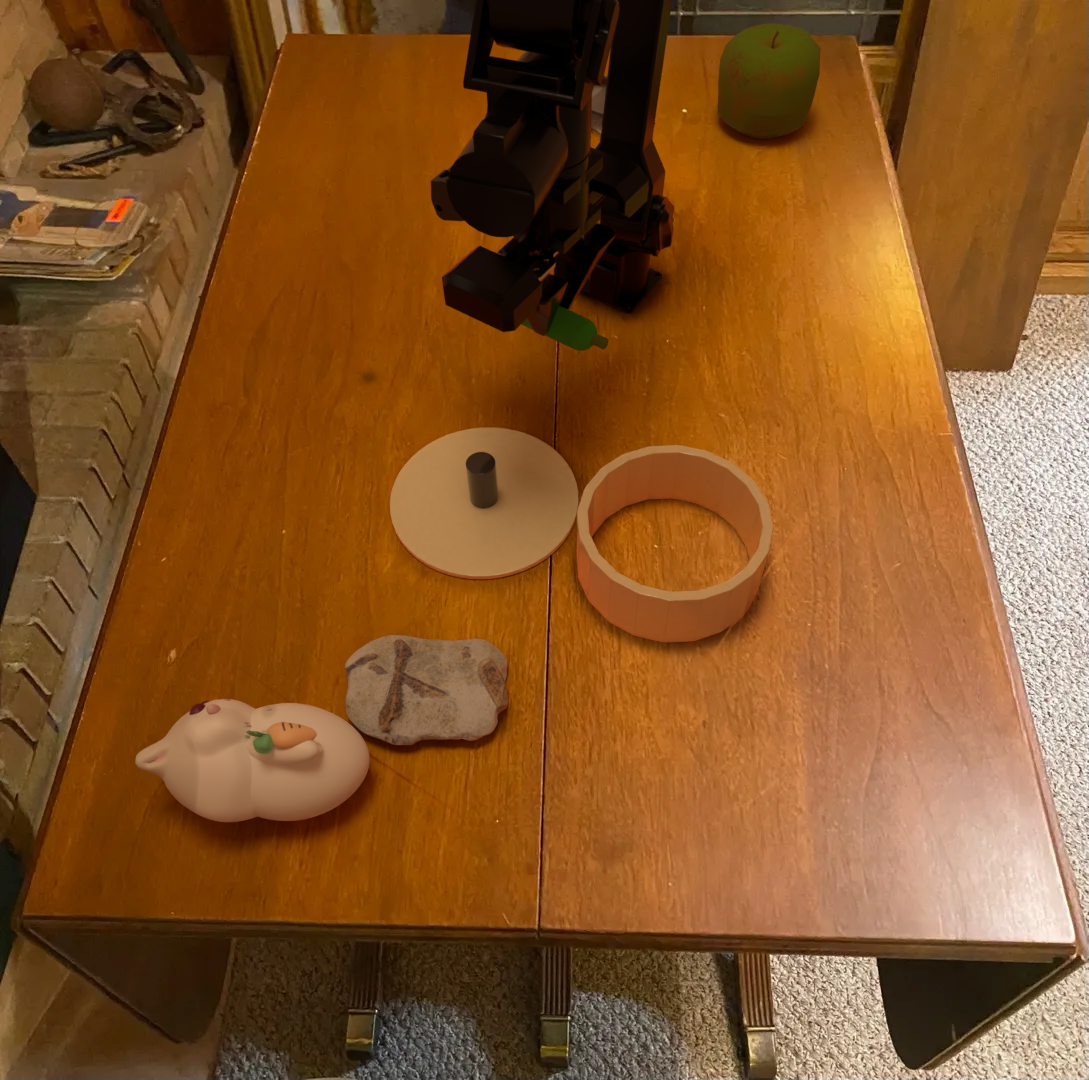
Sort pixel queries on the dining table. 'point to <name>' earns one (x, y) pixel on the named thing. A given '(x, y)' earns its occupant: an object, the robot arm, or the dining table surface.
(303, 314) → the dining table surface
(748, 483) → the pot
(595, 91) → the paper boat
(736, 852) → the dining table surface
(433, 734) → the stone
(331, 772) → the bunny figurine
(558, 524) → the pot lid
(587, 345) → the green zucchini
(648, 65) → the robot arm
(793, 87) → the apple
